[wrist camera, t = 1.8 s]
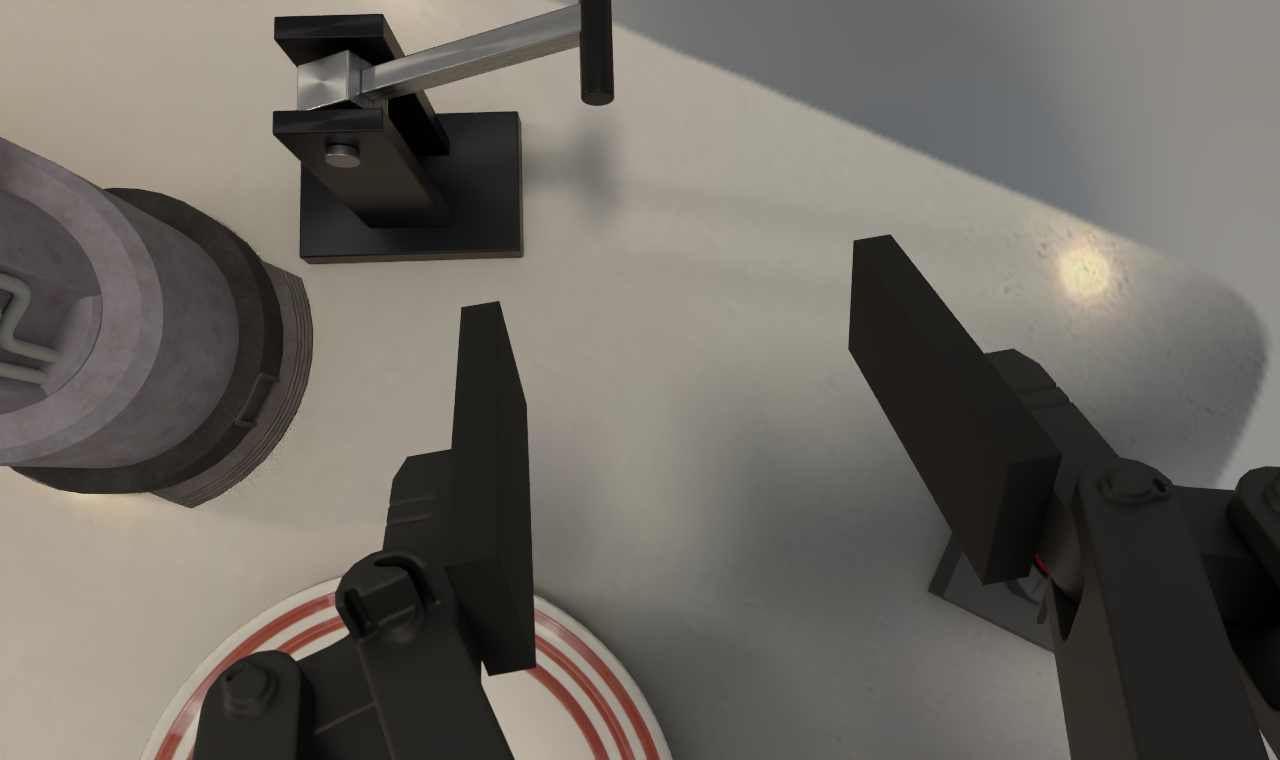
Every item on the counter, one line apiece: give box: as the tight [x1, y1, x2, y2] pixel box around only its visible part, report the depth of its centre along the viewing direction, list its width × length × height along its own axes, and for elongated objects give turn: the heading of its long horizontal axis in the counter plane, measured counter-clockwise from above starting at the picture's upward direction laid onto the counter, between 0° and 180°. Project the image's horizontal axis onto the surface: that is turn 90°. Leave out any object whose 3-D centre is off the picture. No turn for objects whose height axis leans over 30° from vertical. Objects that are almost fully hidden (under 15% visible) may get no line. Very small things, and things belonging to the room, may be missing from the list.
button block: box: [928, 534, 1054, 653], centre depth 43 cm, size 10×8×4 cm
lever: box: [297, 0, 614, 116], centre depth 33 cm, size 14×6×2 cm, turn 92°
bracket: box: [273, 14, 523, 264], centre depth 40 cm, size 12×8×14 cm, turn 92°
